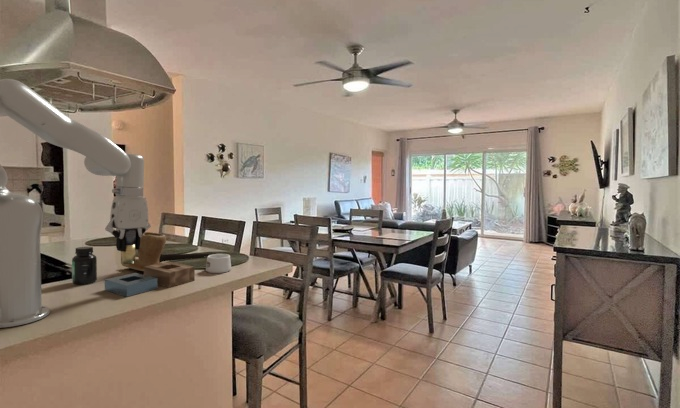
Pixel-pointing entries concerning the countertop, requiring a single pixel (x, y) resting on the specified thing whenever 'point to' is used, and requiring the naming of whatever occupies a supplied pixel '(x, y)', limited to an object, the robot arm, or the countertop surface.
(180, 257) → the wrench
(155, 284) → the socket block
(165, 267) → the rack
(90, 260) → the supplement bottle
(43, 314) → the robot arm
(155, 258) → the tan boot
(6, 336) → the countertop surface
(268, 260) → the countertop surface
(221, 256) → the mug
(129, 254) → the two-tone roller
